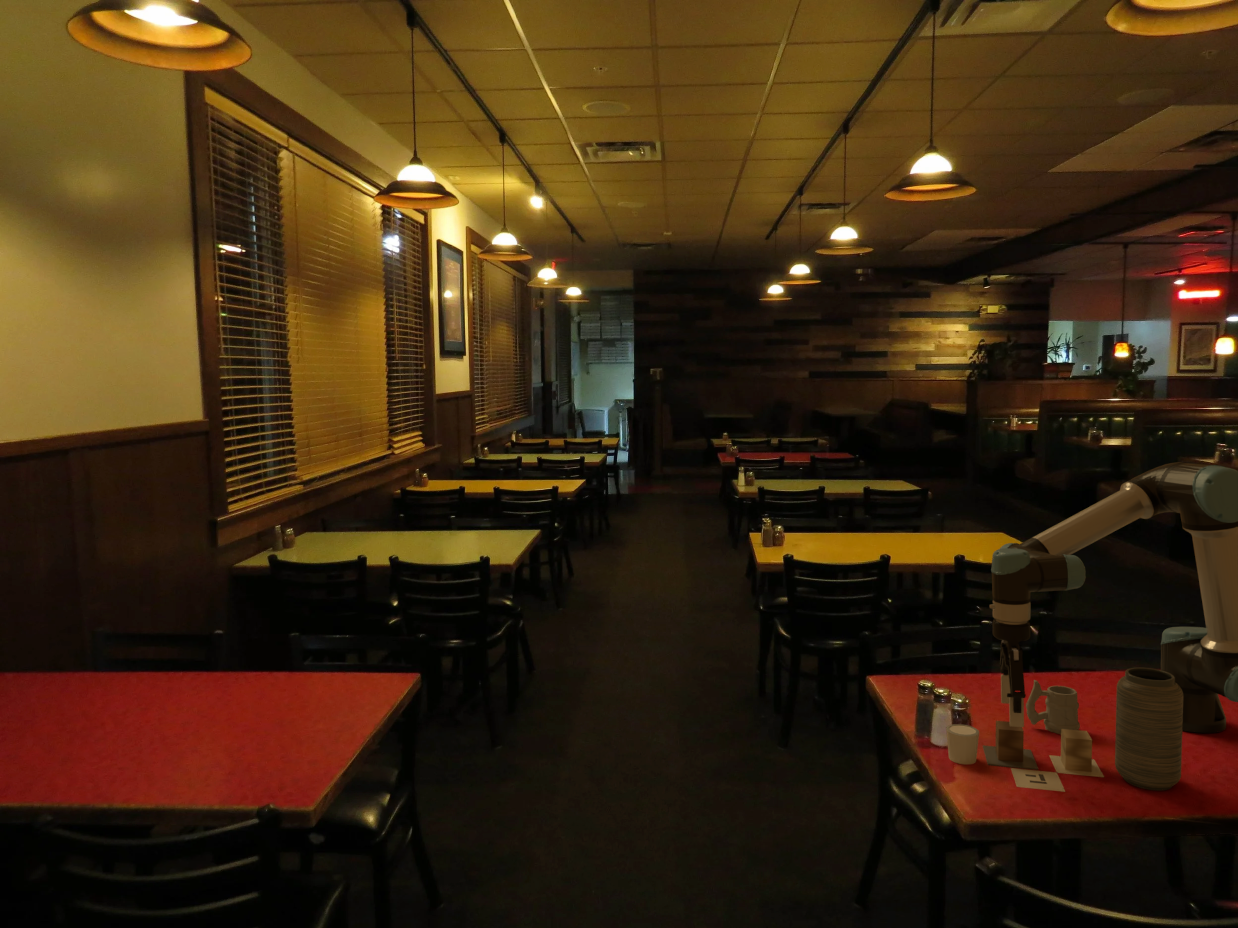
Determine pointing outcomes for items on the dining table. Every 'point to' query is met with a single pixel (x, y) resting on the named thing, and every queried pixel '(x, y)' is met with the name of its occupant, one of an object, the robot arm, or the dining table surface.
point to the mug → (1055, 708)
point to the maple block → (1076, 750)
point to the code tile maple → (1060, 769)
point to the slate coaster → (1026, 764)
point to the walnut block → (1009, 742)
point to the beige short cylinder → (962, 743)
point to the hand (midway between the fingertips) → (1012, 714)
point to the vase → (1149, 729)
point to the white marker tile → (1037, 779)
